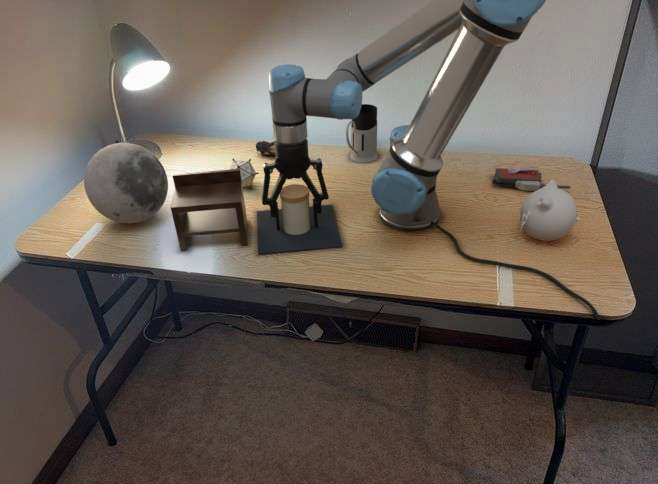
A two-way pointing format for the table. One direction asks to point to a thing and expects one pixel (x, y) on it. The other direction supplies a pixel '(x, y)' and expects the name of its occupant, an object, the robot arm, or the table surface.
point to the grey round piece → (548, 213)
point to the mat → (284, 242)
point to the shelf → (209, 205)
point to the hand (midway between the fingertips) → (297, 225)
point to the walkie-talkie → (520, 178)
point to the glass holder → (363, 135)
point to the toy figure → (265, 148)
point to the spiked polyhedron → (245, 172)
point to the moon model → (126, 183)
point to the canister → (295, 209)
